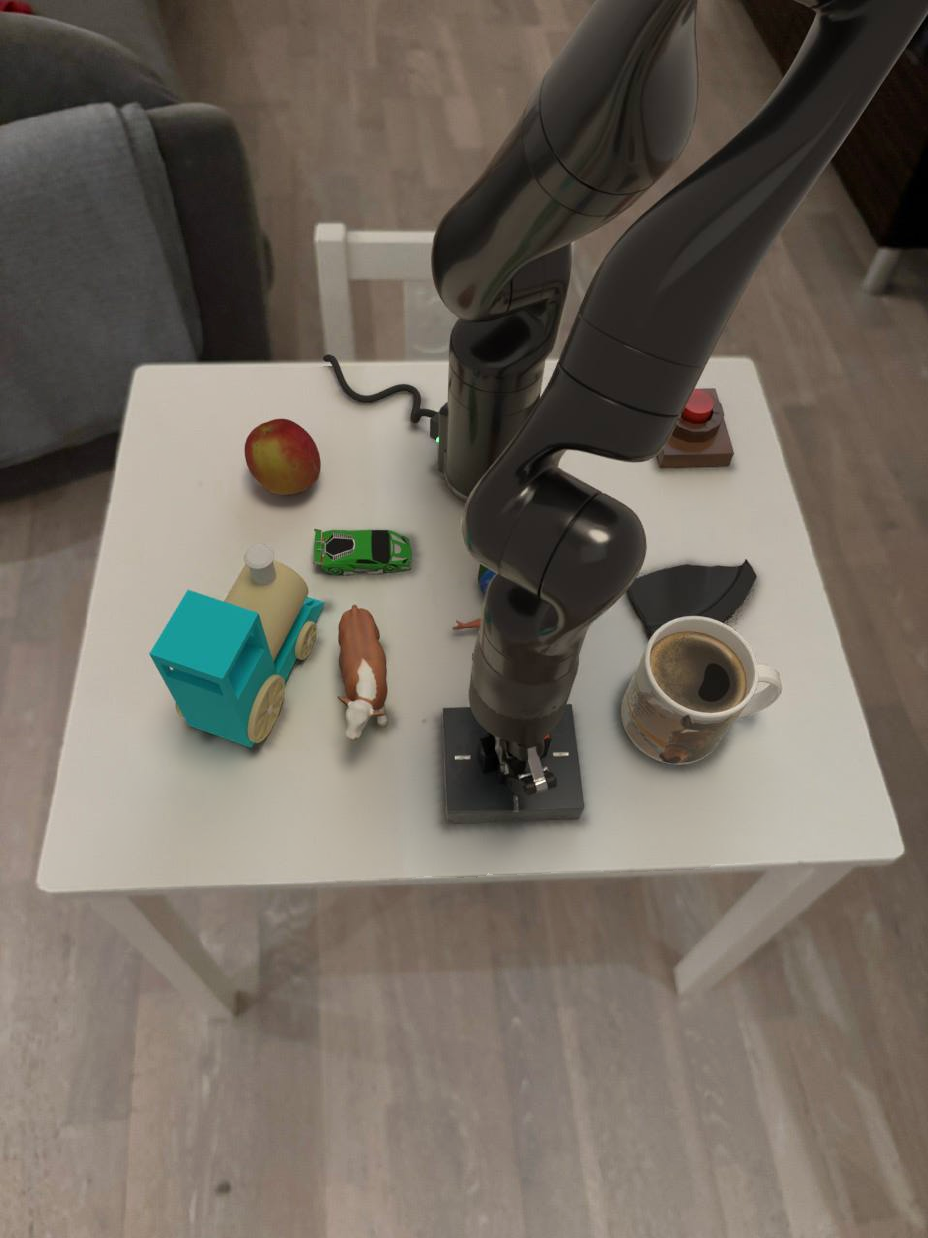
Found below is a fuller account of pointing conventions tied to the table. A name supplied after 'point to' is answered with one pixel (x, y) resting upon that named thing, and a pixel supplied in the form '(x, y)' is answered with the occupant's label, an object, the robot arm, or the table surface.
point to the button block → (699, 441)
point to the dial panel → (492, 802)
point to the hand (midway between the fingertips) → (502, 761)
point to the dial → (490, 758)
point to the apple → (282, 457)
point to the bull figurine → (362, 670)
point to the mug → (693, 689)
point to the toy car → (361, 551)
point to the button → (698, 407)
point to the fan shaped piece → (691, 592)
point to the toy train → (238, 649)
